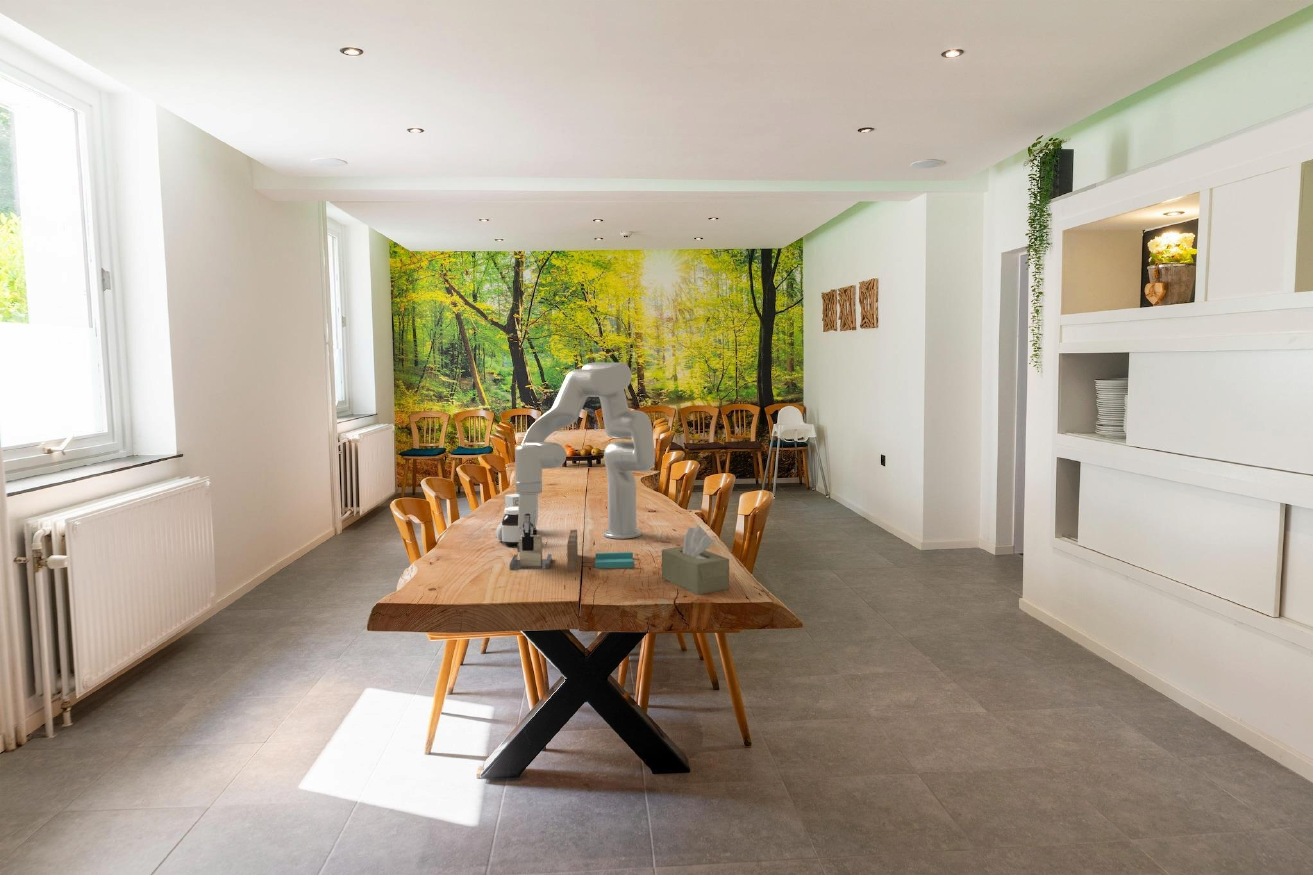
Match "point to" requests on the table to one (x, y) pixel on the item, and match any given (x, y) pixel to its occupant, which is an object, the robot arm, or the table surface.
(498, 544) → the table surface
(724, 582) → the tissue box
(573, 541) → the door panel
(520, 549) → the block
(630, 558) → the teal square tray
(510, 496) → the small box
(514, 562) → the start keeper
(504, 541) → the spread jar
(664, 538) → the table surface
